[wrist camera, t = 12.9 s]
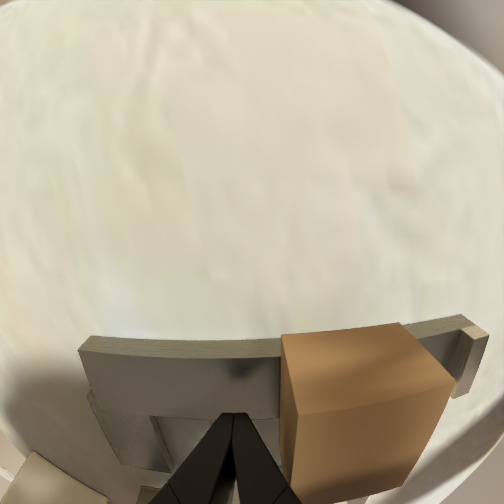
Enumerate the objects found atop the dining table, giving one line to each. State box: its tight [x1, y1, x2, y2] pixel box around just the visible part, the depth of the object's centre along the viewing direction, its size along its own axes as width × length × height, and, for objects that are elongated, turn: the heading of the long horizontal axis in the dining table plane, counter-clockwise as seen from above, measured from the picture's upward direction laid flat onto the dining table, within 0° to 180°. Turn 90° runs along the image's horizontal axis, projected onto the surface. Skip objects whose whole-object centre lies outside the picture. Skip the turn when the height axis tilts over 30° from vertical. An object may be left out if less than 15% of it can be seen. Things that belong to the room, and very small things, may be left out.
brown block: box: [279, 322, 456, 504], centre depth 7 cm, size 4×5×4 cm
